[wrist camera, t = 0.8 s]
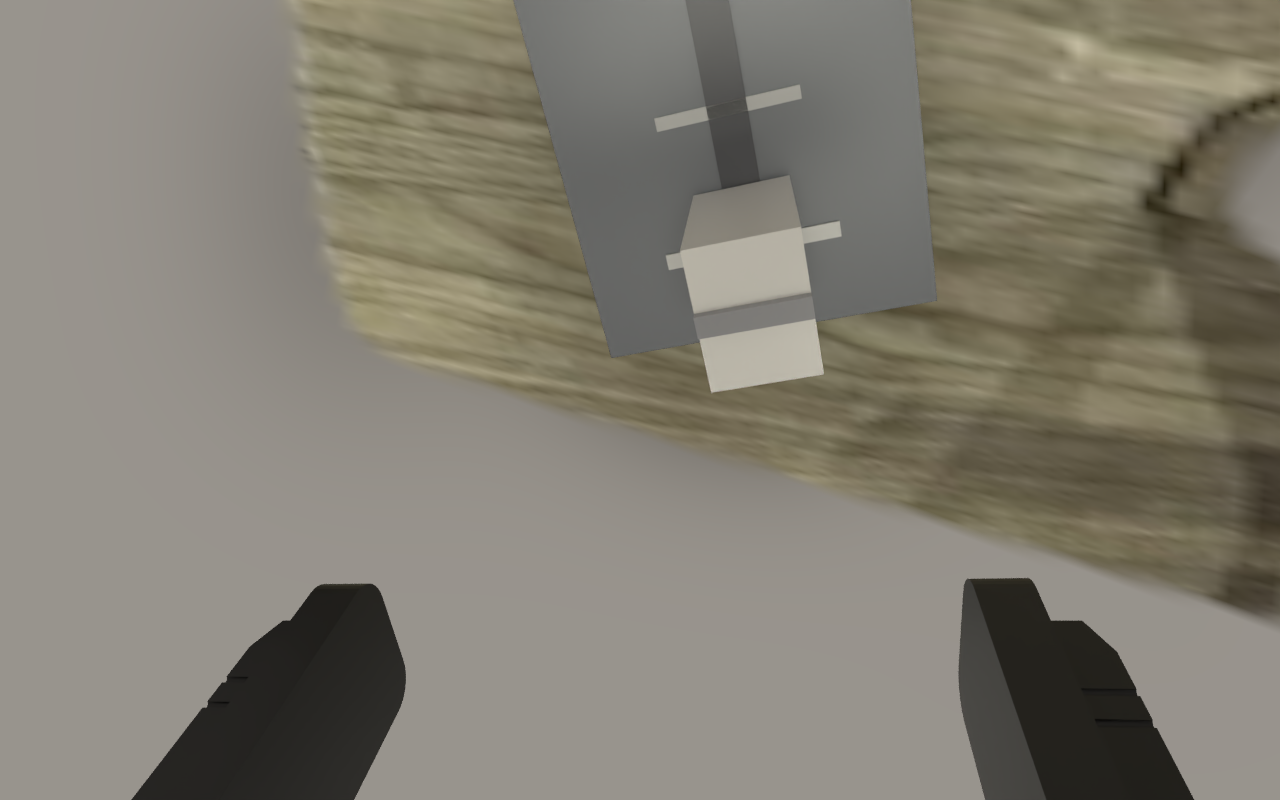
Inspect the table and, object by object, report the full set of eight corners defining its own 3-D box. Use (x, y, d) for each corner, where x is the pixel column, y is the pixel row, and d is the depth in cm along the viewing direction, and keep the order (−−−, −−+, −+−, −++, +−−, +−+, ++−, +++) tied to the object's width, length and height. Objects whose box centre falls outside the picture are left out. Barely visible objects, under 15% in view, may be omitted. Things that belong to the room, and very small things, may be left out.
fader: (789, 174, 25) (801, 230, 20) (808, 296, 27) (825, 379, 21) (693, 195, 26) (679, 254, 20) (718, 313, 27) (711, 397, 22)
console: (853, -419, 21) (869, -479, 19) (919, 271, 29) (937, 302, 26) (463, -280, 24) (425, -315, 21) (622, 326, 32) (610, 359, 29)
